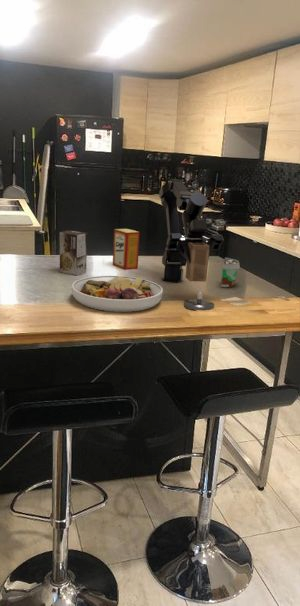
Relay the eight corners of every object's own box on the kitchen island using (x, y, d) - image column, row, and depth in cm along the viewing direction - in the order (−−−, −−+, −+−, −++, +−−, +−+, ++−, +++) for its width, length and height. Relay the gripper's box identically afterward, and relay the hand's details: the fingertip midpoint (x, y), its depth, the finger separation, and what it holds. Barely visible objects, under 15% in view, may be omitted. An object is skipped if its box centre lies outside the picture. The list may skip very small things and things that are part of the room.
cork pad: (219, 301, 171) (219, 299, 171) (235, 298, 176) (235, 296, 176) (237, 307, 165) (237, 306, 165) (252, 304, 170) (252, 302, 170)
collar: (185, 277, 168) (188, 242, 165) (201, 277, 170) (204, 242, 166) (190, 281, 163) (193, 245, 160) (206, 281, 164) (209, 245, 161)
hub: (179, 308, 160) (181, 293, 159) (188, 300, 169) (190, 286, 168) (209, 313, 157) (211, 298, 155) (217, 305, 166) (218, 291, 164)
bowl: (61, 291, 172) (62, 269, 169) (141, 287, 184) (142, 266, 181) (86, 318, 146) (86, 293, 143) (177, 312, 157) (179, 288, 155)
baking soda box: (112, 265, 214) (114, 228, 210) (125, 263, 218) (126, 227, 213) (125, 269, 207) (126, 231, 202) (137, 268, 211) (139, 231, 206)
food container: (236, 291, 185) (239, 265, 182) (220, 289, 186) (223, 263, 184) (237, 283, 197) (240, 259, 194) (222, 281, 198) (225, 257, 195)
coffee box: (86, 273, 197) (88, 232, 193) (76, 275, 192) (77, 234, 188) (69, 269, 202) (70, 229, 197) (58, 271, 197) (59, 231, 192)
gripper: (171, 208, 162) (176, 248, 154) (224, 210, 166) (233, 249, 158) (163, 229, 171) (169, 267, 164) (214, 230, 175) (222, 268, 168)
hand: (198, 262), depth 163 cm, fingers closed on collar, 6 cm apart
